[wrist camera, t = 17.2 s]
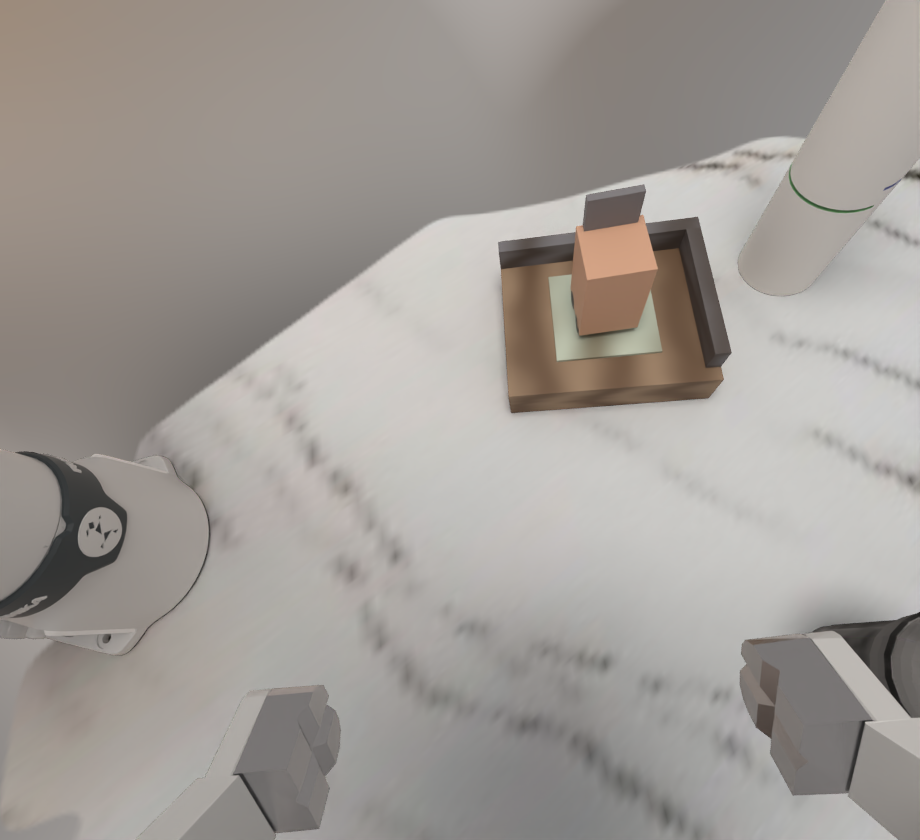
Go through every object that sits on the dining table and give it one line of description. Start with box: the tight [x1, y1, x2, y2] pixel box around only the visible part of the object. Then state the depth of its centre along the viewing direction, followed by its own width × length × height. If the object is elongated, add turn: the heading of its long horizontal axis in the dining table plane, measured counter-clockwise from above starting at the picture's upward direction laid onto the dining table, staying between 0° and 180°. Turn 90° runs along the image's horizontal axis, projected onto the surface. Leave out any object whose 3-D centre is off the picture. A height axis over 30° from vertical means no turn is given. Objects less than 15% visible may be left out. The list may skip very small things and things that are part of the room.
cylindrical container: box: [738, 0, 920, 296], centre depth 36 cm, size 7×7×25 cm
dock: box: [498, 217, 732, 413], centre depth 45 cm, size 18×15×6 cm
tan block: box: [570, 185, 658, 336], centre depth 38 cm, size 5×5×12 cm
